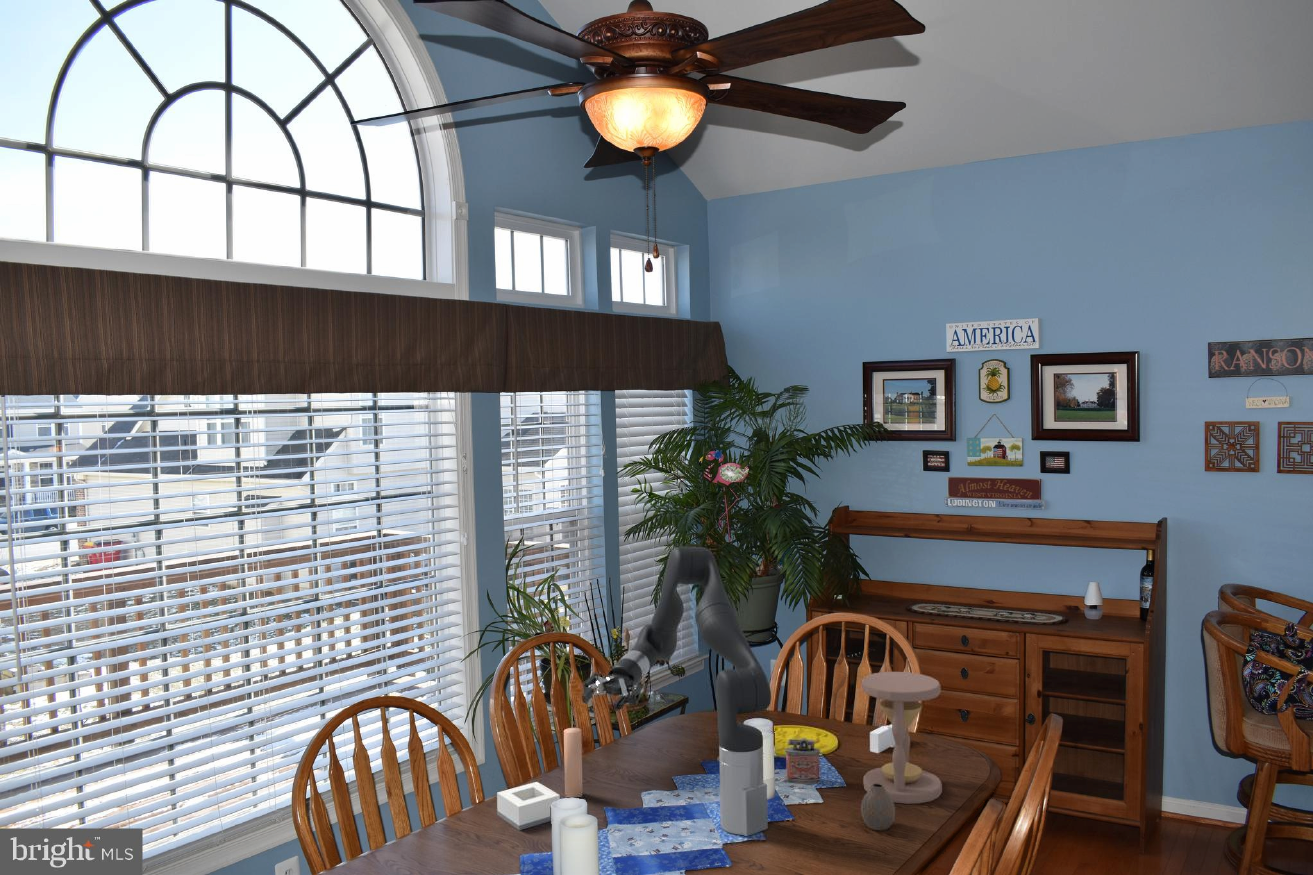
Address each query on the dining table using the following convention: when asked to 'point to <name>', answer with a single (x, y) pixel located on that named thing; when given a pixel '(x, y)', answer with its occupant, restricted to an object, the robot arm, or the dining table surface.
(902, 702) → the hourglass
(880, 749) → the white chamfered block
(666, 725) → the dining table surface
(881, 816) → the vase
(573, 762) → the peg
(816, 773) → the lighter
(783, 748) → the decorative medallion
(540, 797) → the bore block
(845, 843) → the dining table surface
